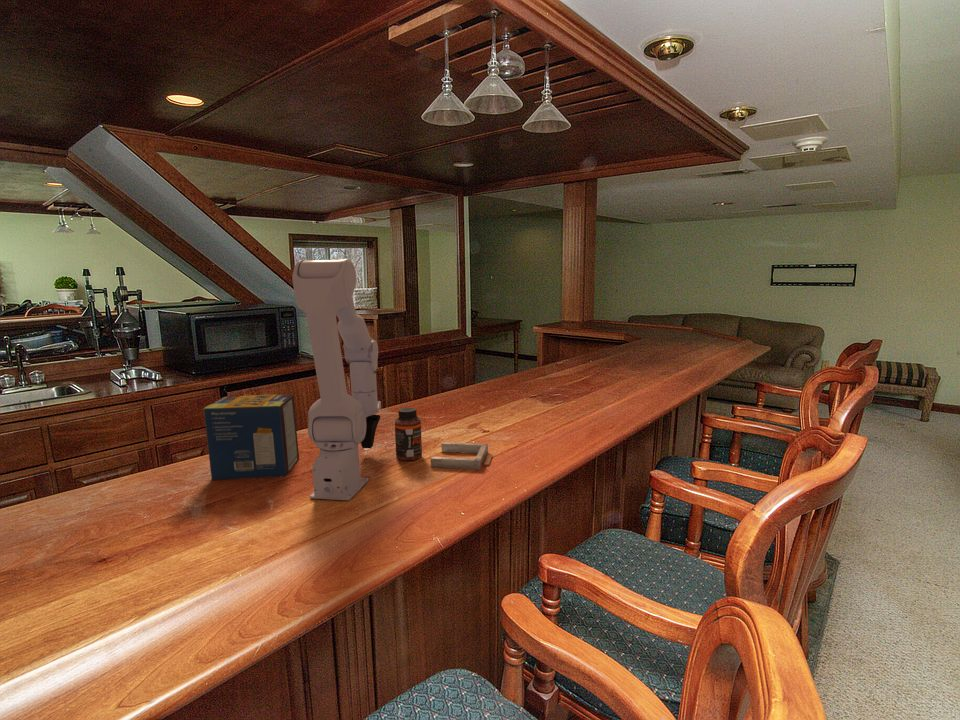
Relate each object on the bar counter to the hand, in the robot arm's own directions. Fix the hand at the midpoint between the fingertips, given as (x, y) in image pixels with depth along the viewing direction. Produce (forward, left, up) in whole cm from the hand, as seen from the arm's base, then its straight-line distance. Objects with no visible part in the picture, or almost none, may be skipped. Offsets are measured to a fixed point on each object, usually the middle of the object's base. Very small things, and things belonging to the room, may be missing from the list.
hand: (367, 447), depth 115 cm
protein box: (-11, +21, -2) cm, 24 cm away
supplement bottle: (0, -10, -2) cm, 10 cm away
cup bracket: (0, -22, -2) cm, 22 cm away
